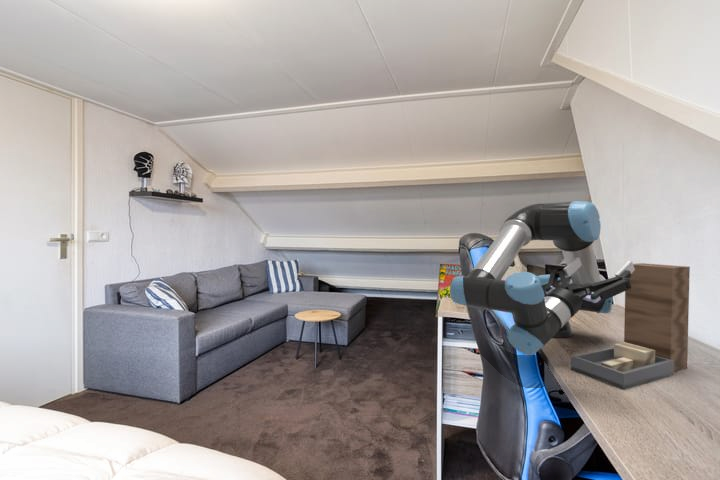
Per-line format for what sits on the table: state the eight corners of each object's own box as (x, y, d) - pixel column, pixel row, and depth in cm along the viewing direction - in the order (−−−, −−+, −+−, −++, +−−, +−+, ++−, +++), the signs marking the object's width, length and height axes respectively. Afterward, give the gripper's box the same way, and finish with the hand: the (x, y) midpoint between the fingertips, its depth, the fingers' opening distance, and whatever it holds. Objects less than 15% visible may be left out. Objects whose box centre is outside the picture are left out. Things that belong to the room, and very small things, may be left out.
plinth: (670, 373, 98) (672, 267, 97) (623, 358, 109) (625, 264, 108) (687, 368, 102) (689, 266, 101) (640, 354, 113) (642, 263, 112)
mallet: (621, 378, 92) (622, 358, 92) (591, 367, 99) (591, 348, 99) (654, 369, 98) (655, 350, 98) (623, 359, 106) (624, 342, 106)
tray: (623, 389, 88) (624, 374, 88) (570, 369, 101) (571, 355, 101) (673, 374, 97) (674, 360, 97) (619, 358, 110) (619, 345, 110)
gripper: (521, 309, 100) (565, 269, 107) (614, 332, 77) (662, 280, 84) (512, 287, 98) (557, 249, 105) (604, 305, 75) (654, 254, 82)
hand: (603, 262), depth 94 cm, fingers open, 13 cm apart
